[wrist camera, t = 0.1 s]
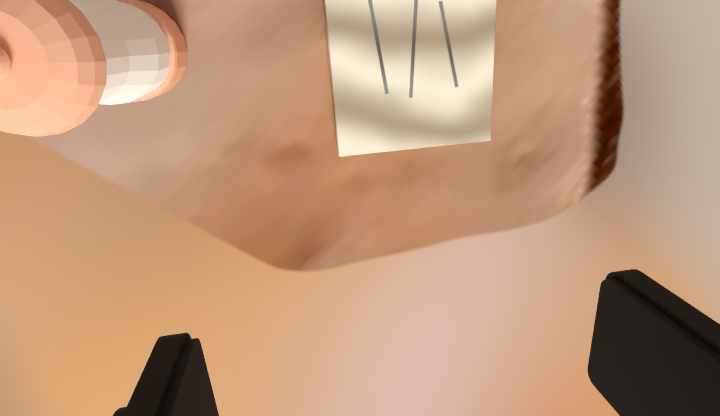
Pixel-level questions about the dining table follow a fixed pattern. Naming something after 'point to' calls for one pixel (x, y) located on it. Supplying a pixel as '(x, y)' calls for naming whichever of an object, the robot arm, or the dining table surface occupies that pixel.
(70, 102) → the pepper shaker
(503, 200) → the dining table surface
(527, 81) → the dining table surface
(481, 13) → the board
